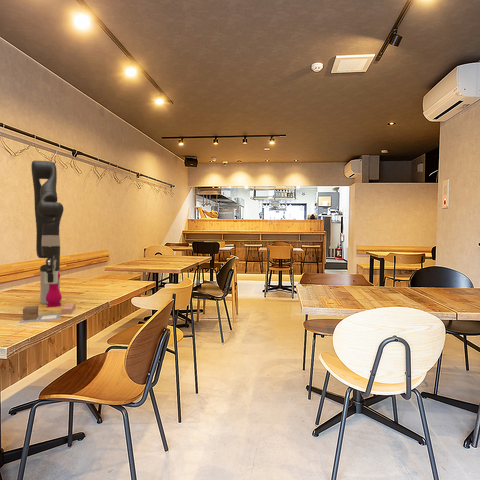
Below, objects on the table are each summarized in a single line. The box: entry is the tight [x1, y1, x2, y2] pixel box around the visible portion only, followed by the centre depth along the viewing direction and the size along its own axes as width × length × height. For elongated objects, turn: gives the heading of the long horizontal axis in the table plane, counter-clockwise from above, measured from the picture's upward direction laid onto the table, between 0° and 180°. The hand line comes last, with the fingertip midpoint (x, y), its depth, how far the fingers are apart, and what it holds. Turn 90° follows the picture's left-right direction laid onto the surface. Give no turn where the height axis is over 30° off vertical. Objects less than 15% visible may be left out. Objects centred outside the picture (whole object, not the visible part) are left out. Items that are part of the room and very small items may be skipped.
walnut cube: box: [22, 305, 39, 321], centre depth 147 cm, size 5×5×5 cm
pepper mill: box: [46, 272, 63, 309], centre depth 173 cm, size 7×7×20 cm
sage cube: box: [44, 271, 58, 284], centre depth 158 cm, size 5×5×5 cm
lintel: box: [61, 302, 76, 315], centre depth 161 cm, size 12×4×4 cm, turn 18°
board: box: [18, 312, 63, 324], centre depth 149 cm, size 12×15×1 cm
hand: (51, 281), depth 157 cm, fingers closed on sage cube, 5 cm apart
